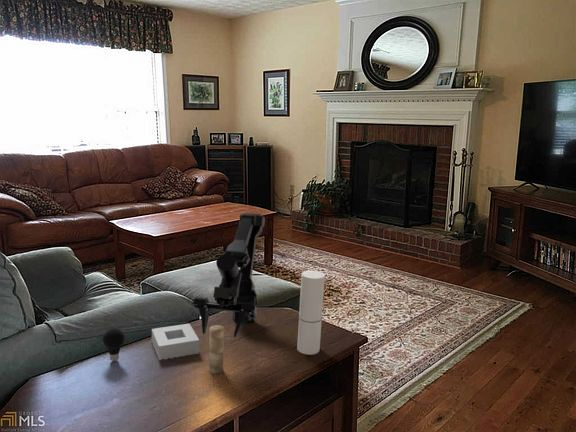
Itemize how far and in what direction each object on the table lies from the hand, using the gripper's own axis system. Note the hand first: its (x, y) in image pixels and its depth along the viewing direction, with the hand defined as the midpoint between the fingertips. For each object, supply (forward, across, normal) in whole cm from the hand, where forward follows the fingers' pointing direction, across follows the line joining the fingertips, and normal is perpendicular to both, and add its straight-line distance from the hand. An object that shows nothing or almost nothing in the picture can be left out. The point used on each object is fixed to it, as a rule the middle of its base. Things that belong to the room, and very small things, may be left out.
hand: (219, 335), depth 137 cm
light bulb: (+10, -30, +4) cm, 32 cm away
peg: (+9, 0, +5) cm, 10 cm away
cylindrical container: (-4, +25, +18) cm, 31 cm away
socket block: (+2, -16, +12) cm, 20 cm away
